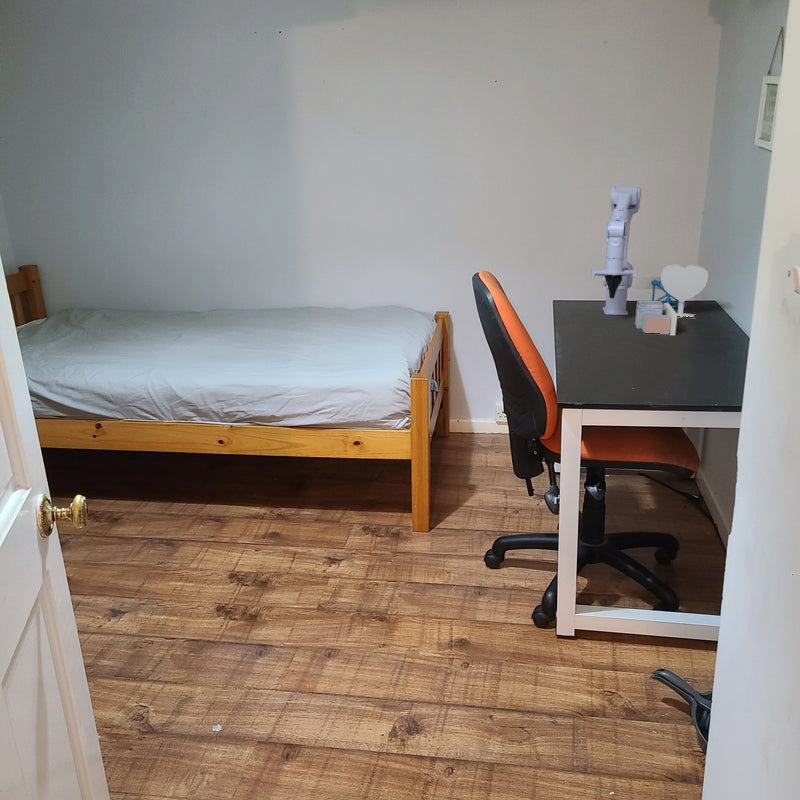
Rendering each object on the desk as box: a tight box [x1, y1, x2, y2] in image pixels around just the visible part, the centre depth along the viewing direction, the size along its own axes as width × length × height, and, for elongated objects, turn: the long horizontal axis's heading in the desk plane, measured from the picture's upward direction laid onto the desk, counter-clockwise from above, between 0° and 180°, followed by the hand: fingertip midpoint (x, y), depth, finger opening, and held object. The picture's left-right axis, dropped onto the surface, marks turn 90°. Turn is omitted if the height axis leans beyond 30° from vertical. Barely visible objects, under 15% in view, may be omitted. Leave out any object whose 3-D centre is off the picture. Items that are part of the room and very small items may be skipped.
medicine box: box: [634, 300, 664, 329], centre depth 270 cm, size 8×4×9 cm, turn 84°
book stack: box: [641, 302, 678, 336], centre depth 269 cm, size 17×10×7 cm, turn 172°
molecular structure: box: [650, 279, 688, 309], centre depth 296 cm, size 10×10×10 cm
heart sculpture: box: [660, 263, 709, 318], centre depth 283 cm, size 16×5×18 cm, turn 73°
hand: (611, 297), depth 272 cm, fingers closed
